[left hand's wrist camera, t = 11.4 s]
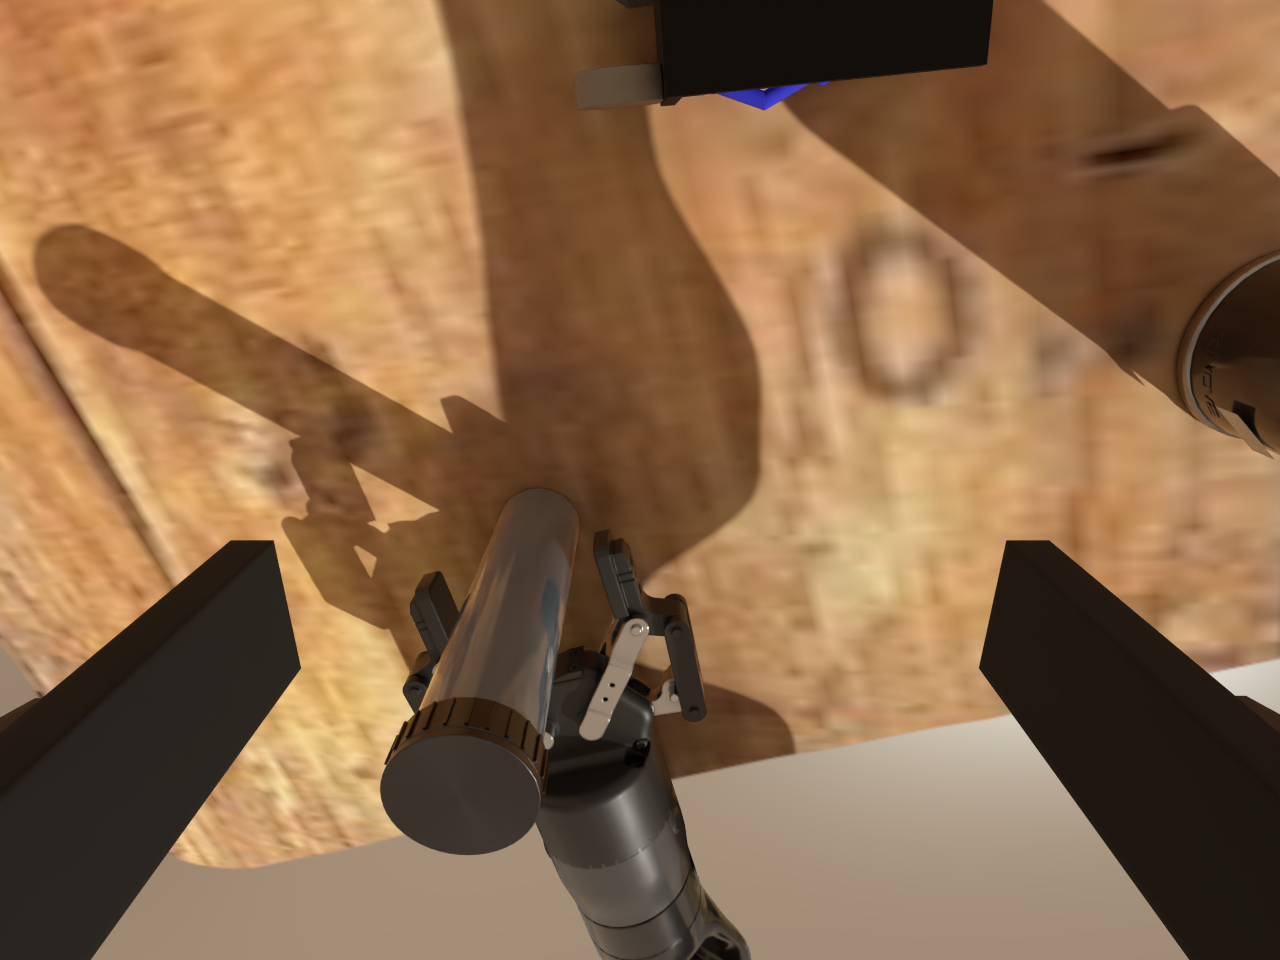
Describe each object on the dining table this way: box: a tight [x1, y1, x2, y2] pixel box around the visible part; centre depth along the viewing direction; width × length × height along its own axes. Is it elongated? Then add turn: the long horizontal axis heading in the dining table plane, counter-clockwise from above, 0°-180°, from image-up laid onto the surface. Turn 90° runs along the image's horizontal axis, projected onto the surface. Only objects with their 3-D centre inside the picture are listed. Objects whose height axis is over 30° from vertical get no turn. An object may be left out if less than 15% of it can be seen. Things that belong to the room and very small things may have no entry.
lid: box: [380, 697, 549, 855], centre depth 22 cm, size 5×5×2 cm
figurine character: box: [573, 0, 993, 110], centre depth 27 cm, size 7×8×15 cm
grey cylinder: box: [419, 488, 580, 741], centre depth 30 cm, size 4×4×18 cm
